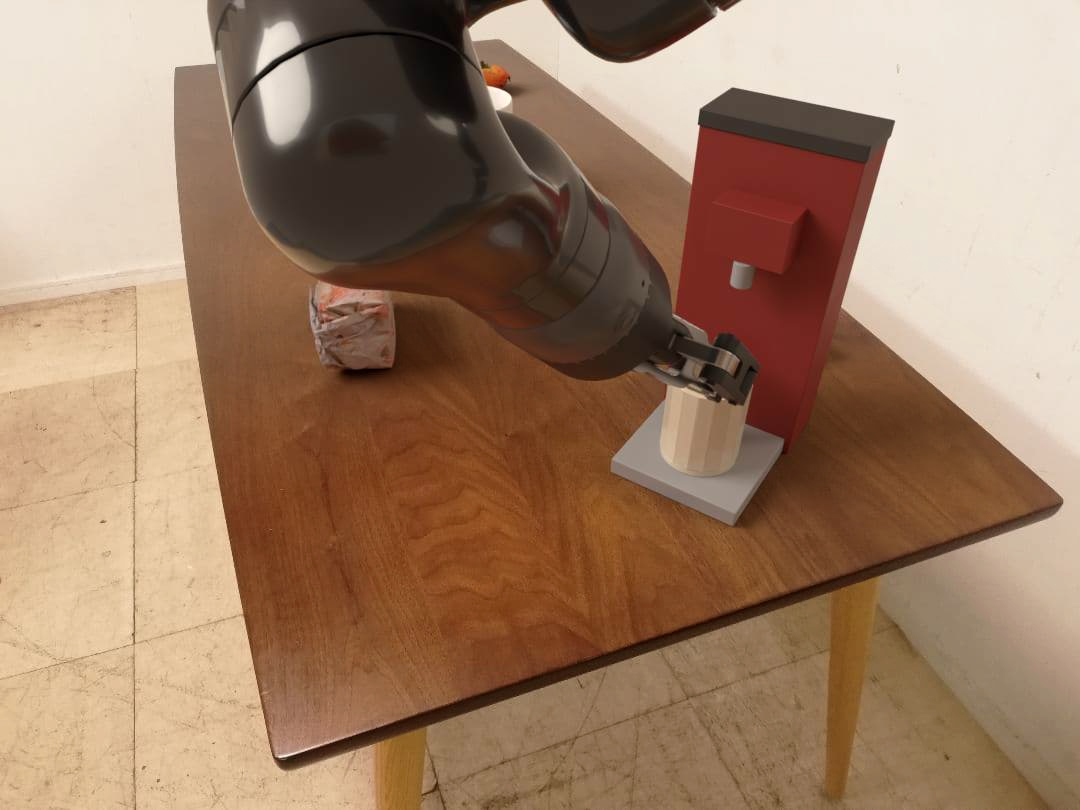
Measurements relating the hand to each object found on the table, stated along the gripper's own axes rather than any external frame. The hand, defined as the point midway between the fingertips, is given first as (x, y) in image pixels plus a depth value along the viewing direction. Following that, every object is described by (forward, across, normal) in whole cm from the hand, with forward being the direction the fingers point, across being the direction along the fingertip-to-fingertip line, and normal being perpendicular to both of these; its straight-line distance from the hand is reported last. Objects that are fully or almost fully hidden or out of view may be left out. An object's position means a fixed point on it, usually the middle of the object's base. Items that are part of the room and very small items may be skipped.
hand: (659, 362), depth 52 cm
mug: (+41, +48, -17) cm, 65 cm away
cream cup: (+18, 0, +4) cm, 18 cm away
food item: (+17, +36, +7) cm, 41 cm away
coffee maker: (+21, 0, +2) cm, 21 cm away
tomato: (+65, +71, -42) cm, 105 cm away
